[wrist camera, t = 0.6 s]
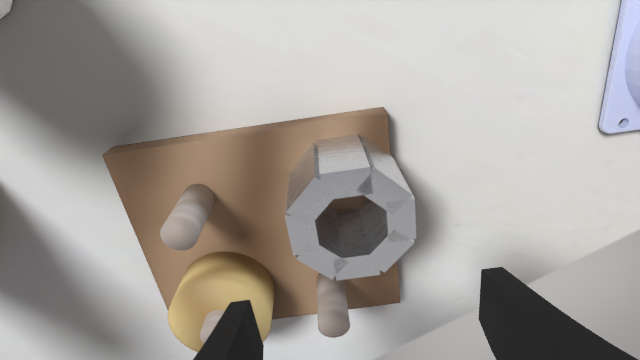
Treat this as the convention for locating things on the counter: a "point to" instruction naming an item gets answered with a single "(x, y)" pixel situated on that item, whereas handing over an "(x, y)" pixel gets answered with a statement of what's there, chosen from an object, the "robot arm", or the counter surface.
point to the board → (239, 224)
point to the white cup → (5, 7)
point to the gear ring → (353, 225)
